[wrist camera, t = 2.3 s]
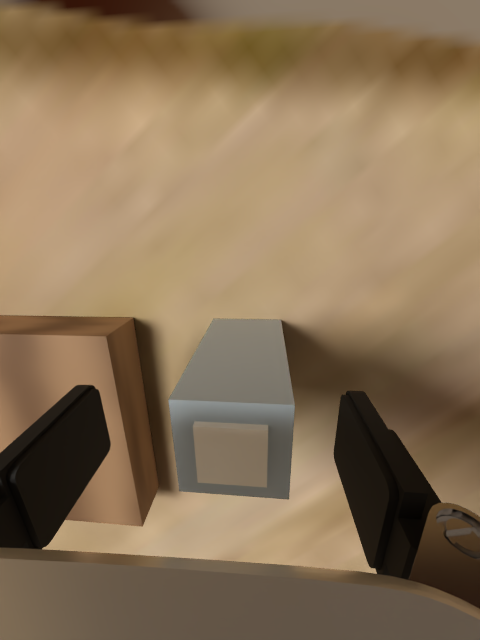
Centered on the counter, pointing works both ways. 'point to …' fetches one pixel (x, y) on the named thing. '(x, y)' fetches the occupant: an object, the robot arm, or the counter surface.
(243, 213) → the counter surface
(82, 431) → the robot arm
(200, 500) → the counter surface
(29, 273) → the counter surface
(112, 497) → the brown box
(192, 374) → the block
